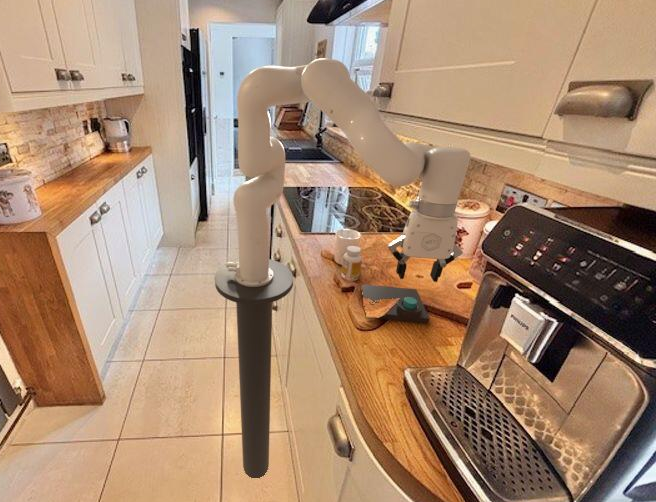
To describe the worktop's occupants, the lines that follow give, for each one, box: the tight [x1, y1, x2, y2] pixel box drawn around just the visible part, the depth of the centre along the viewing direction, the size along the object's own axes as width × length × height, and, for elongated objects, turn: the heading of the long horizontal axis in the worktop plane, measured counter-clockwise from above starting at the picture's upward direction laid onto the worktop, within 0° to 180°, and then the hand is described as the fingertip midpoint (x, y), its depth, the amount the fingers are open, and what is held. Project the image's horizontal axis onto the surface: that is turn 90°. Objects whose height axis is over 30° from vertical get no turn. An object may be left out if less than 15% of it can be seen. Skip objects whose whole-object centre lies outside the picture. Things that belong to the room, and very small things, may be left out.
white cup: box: [333, 228, 362, 266], centre depth 107 cm, size 8×8×10 cm
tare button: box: [403, 297, 417, 309], centre depth 82 cm, size 3×3×2 cm
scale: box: [360, 284, 430, 325], centre depth 87 cm, size 15×14×4 cm
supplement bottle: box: [341, 246, 363, 282], centre depth 98 cm, size 5×5×10 cm
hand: (416, 276), depth 78 cm, fingers open, 6 cm apart
